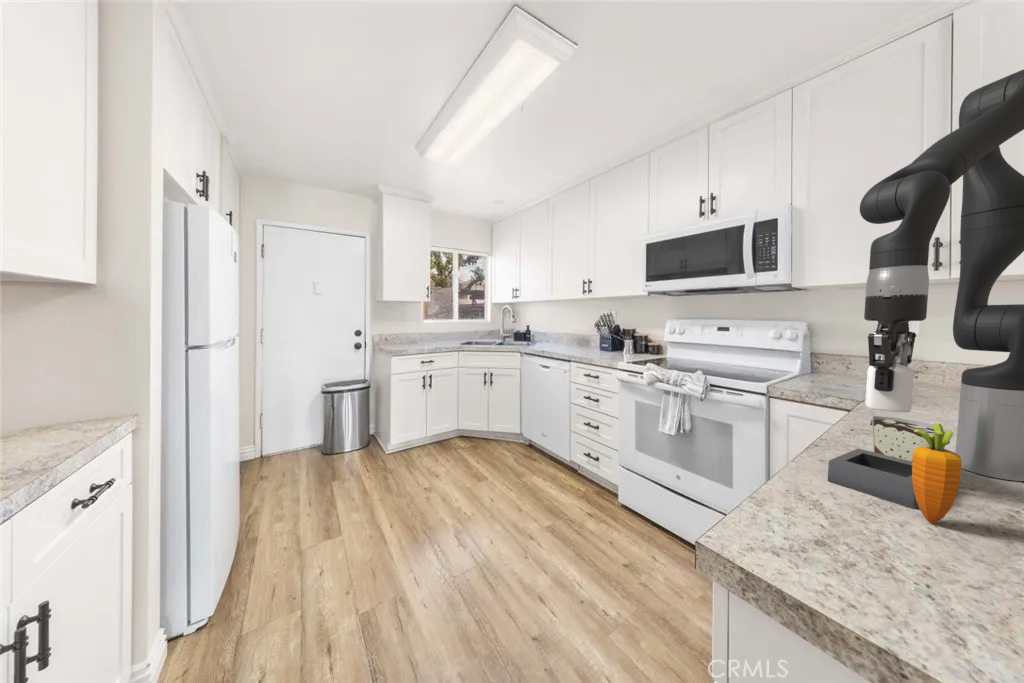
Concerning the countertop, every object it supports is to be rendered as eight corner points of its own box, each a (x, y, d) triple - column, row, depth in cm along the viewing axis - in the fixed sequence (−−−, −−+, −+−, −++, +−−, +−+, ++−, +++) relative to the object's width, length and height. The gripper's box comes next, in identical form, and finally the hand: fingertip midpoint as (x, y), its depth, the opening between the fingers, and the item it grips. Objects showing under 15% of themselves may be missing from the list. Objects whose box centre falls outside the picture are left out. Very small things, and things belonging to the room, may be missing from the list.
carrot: (944, 535, 50) (953, 431, 49) (898, 516, 55) (905, 421, 54) (966, 530, 51) (975, 428, 50) (919, 512, 56) (926, 419, 55)
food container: (969, 489, 64) (973, 434, 63) (934, 488, 64) (938, 434, 63) (896, 461, 76) (899, 415, 75) (866, 461, 76) (870, 415, 75)
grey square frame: (856, 467, 73) (858, 448, 73) (938, 490, 63) (940, 468, 63) (827, 481, 67) (828, 460, 66) (913, 508, 57) (915, 484, 57)
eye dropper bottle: (869, 404, 68) (873, 342, 67) (913, 411, 63) (918, 344, 62) (862, 408, 65) (866, 343, 64) (907, 415, 60) (912, 345, 60)
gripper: (881, 296, 69) (876, 382, 70) (850, 294, 63) (844, 389, 64) (940, 294, 63) (933, 389, 64) (912, 291, 56) (904, 397, 57)
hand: (888, 388), depth 64 cm, fingers closed on eye dropper bottle, 4 cm apart
